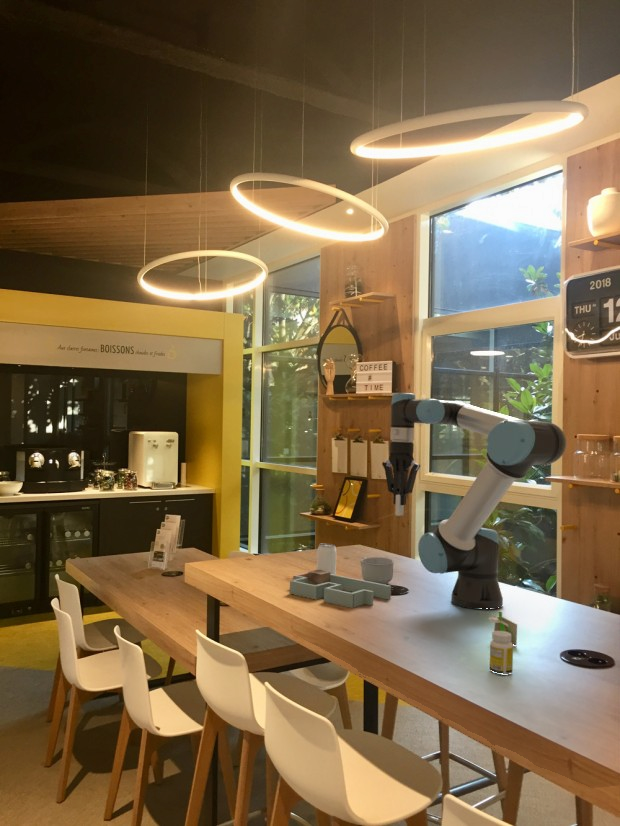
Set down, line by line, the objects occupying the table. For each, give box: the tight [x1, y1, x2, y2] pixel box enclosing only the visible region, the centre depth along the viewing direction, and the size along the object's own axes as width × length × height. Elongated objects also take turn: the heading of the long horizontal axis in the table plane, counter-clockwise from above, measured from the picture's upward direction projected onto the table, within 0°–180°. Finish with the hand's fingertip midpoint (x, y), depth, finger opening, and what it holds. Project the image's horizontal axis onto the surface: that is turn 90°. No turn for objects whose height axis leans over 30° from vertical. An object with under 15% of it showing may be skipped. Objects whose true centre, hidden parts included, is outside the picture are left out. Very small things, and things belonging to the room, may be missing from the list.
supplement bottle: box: [489, 630, 514, 674], centre depth 151 cm, size 5×5×8 cm
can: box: [316, 543, 337, 575], centre depth 234 cm, size 6×6×12 cm
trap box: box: [289, 571, 392, 609], centre depth 214 cm, size 30×18×4 cm, turn 53°
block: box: [308, 569, 330, 585], centre depth 225 cm, size 5×5×5 cm
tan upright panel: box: [488, 610, 518, 645], centre depth 172 cm, size 4×7×8 cm, turn 14°
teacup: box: [360, 556, 395, 585], centre depth 234 cm, size 14×11×8 cm
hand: (399, 515), depth 223 cm, fingers closed
